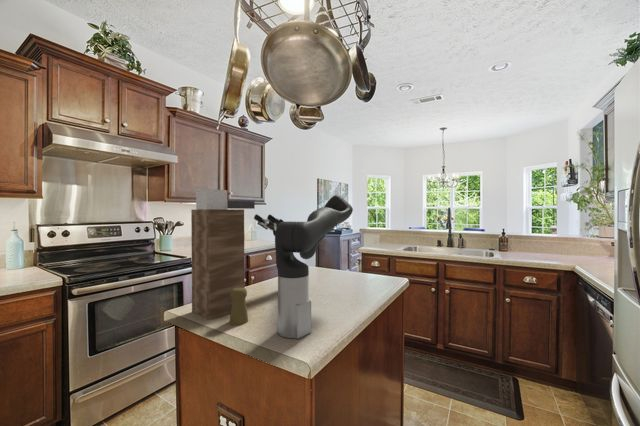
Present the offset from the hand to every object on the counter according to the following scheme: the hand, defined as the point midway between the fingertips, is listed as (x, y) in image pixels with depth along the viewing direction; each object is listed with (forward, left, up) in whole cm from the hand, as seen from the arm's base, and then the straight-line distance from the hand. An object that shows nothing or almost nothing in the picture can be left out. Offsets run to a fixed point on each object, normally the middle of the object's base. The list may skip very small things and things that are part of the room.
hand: (261, 216), depth 124 cm
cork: (-15, +22, -34) cm, 44 cm away
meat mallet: (0, +16, +3) cm, 16 cm away
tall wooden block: (0, +20, -34) cm, 40 cm away
